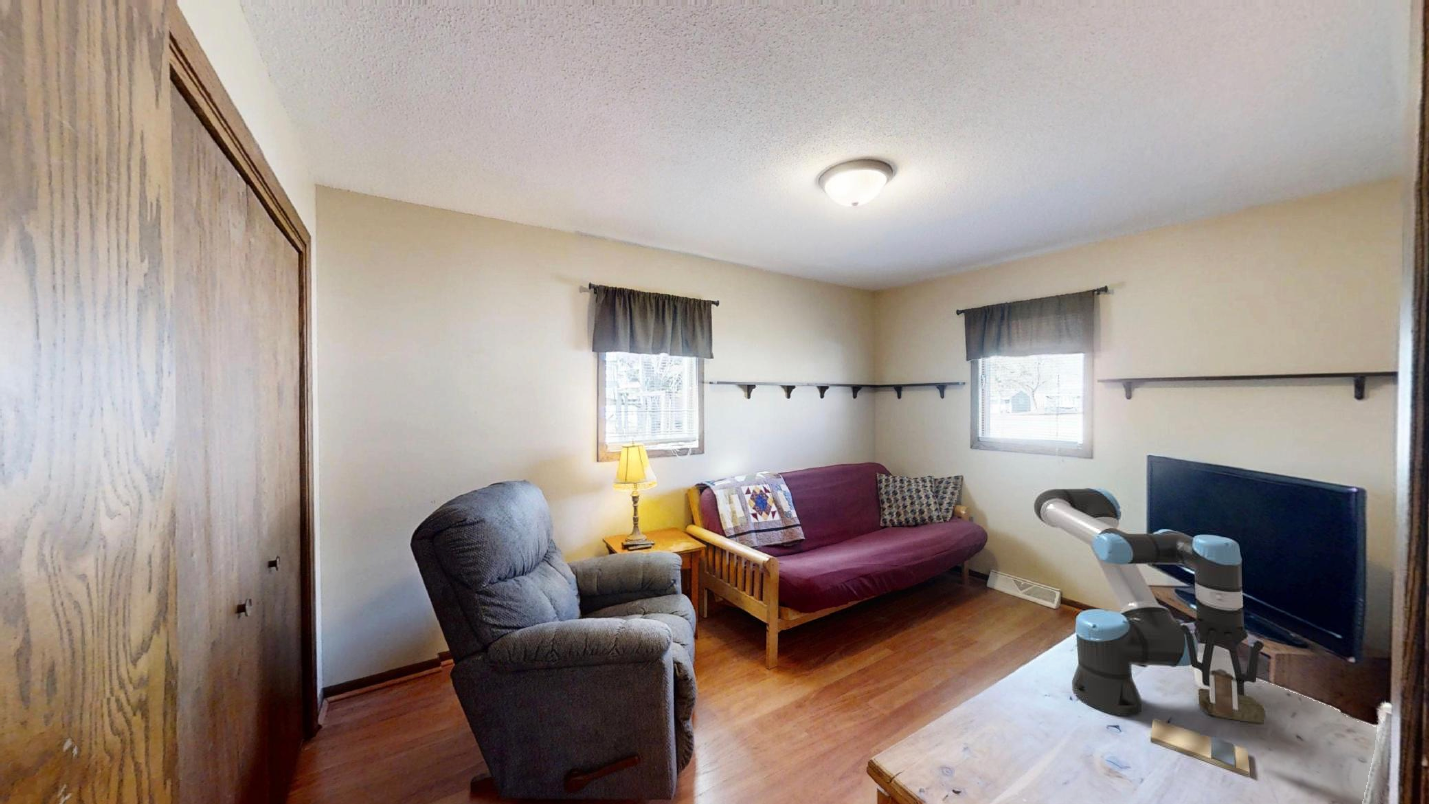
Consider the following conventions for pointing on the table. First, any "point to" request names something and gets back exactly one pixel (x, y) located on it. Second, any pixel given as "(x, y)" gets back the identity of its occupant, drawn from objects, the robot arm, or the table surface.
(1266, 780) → the table surface
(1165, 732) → the flat metallic slab
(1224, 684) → the brown wooden cylinder
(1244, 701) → the stone block
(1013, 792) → the table surface
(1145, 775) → the table surface
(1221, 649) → the mug
